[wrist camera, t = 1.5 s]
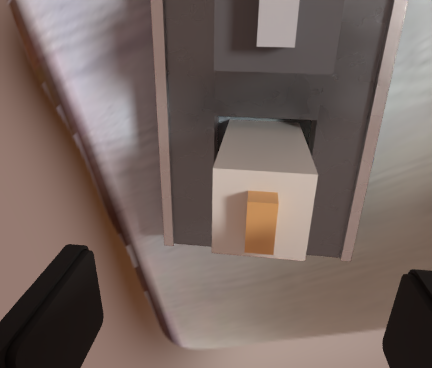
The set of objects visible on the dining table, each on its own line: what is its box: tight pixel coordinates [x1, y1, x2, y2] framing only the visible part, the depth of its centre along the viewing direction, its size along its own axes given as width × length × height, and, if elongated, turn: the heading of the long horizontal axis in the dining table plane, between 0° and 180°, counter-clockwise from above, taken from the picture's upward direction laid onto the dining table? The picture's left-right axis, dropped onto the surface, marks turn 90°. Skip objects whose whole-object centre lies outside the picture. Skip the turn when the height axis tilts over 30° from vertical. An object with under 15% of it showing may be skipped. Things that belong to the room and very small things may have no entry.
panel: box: [151, 0, 408, 261], centre depth 17 cm, size 12×28×2 cm, turn 179°
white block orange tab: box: [212, 119, 318, 261], centre depth 18 cm, size 4×4×9 cm
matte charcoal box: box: [214, 0, 345, 75], centre depth 15 cm, size 4×4×9 cm
